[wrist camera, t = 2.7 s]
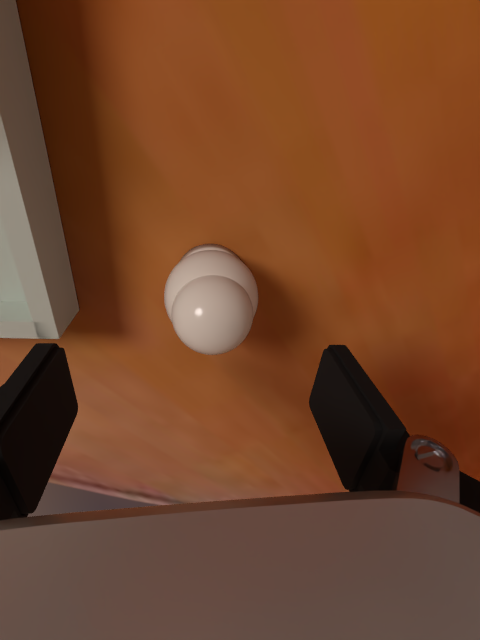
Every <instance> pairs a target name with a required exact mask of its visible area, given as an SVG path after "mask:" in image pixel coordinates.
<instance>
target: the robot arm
mask: <svg viewBox="0 0 480 640" xmlns="http://www.w3.org/2000/svg"><path fill="white" fill-rule="evenodd" d="M309 405H310V409H311V411H312V414H313V416H314V418H315V421H316V423H317V425H318V428H319V430H320V432H321V435H322V437H323V439H324V442H325V444H326V446H327V449H328V451H329V454H330V456H331V458H332V461H333V463H334V465H335V468H336V470H337V472H338V475H339V477H340V479H341V482H342V484H343V486H344V488H345V489H347V490H348V489H349V491H350V492H340V493H323V494H309V495H295V496H281V497H267V498H253V499H240V500H226V501H213V502H200V503H187V504H174V505H161V506H150V507H138V508H124V509H112V510H101V511H87V512H75V513H65V514H54V515H44V516H34V517H27V516H28V514H29V513H33V512H34V511H35V510H36V508H37V506H38V503H39V501H40V499H41V496H42V494H43V492H44V489H45V487H46V485H47V483H48V480H49V478H50V476H51V473H52V471H53V469H54V466H55V464H56V462H57V459H58V457H59V455H60V452H61V450H62V448H63V445H64V443H65V441H66V438H67V436H68V434H69V431H70V429H71V427H72V424H73V422H74V420H75V418H76V415H77V411H78V403H77V399H76V395H75V391H74V387H73V383H72V379H71V375H70V371H69V367H68V362H67V358H66V354H65V351H64V349H63V348H59V346H58V345H57V344H55V343H38V344H36V345H35V346H34V347H33V348H32V349H31V351H30V352H29V353H28V354H27V356H26V357H25V358H24V360H23V361H22V362H21V363H20V365H19V366H18V367H17V369H16V370H15V371H14V372H13V374H12V375H11V376H10V378H9V379H8V380H7V381H6V383H5V384H3V385H2V386H1V387H0V640H480V482H479V481H477V480H476V479H474V478H472V477H470V476H468V475H466V474H464V473H463V472H461V471H459V465H458V461H457V460H456V458H455V456H454V455H453V454H452V452H451V451H450V450H449V449H448V448H447V447H445V446H444V445H443V444H441V443H440V442H438V441H436V440H435V439H433V438H430V437H427V436H424V435H412V436H410V435H409V434H408V432H407V431H406V428H405V426H404V425H403V424H402V422H401V421H400V419H399V418H398V417H397V415H396V414H395V413H394V411H393V410H392V408H391V407H390V406H389V404H388V403H387V402H386V400H385V399H384V397H383V396H382V395H381V393H380V392H379V391H378V389H377V388H376V386H375V385H374V384H373V382H372V381H371V380H370V378H369V377H368V375H367V374H366V373H365V371H364V370H363V369H362V367H361V366H360V364H359V363H358V362H357V360H356V359H355V358H354V356H353V355H352V353H351V352H350V351H349V349H348V348H347V347H346V346H345V345H329V347H328V348H327V349H324V351H323V354H322V357H321V361H320V364H319V368H318V371H317V375H316V378H315V382H314V385H313V388H312V392H311V395H310V399H309Z"/></svg>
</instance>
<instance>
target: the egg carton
mask: <svg viewBox="0 0 480 640" xmlns="http://www.w3.org/2000/svg"><path fill="white" fill-rule="evenodd" d="M78 311H79V305H78V300H77V295H76V291H75V286H74V281H73V276H72V271H71V266H70V262H69V257H68V252H67V247H66V242H65V237H64V232H63V228H62V223H61V218H60V213H59V208H58V203H57V198H56V194H55V189H54V184H53V179H52V174H51V169H50V164H49V160H48V155H47V150H46V145H45V140H44V135H43V131H42V126H41V121H40V116H39V111H38V106H37V101H36V97H35V92H34V87H33V82H32V77H31V72H30V67H29V63H28V58H27V53H26V48H25V43H24V38H23V33H22V29H21V24H20V19H19V14H18V9H17V4H16V0H0V338H36V339H59V338H60V337H61V336H62V334H63V333H64V331H65V330H66V328H67V327H68V326H69V324H70V323H71V321H72V320H73V318H74V317H75V315H76V314H77V313H78Z"/></svg>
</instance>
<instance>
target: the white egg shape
mask: <svg viewBox="0 0 480 640" xmlns="http://www.w3.org/2000/svg"><path fill="white" fill-rule="evenodd" d="M164 301H165V307H166V311H167V314H168V316H169V318H170V320H171V322H172V323H173V327H174V329H175V332H176V334H177V335H178V337H179V338H180V340H181V341H182V342H183V343H184V344H185V345H186V346H188V347H189V348H191V349H192V350H194V351H196V352H199V353H202V354H207V355H217V354H223V353H226V352H229V351H231V350H233V349H234V348H236V347H237V346H238V345H240V344H241V343H242V342H243V341H244V339H245V338H246V336H247V335H248V333H249V331H250V329H251V326H252V322H253V318H254V316H255V313H256V310H257V306H258V289H257V284H256V281H255V279H254V277H253V275H252V273H251V271H250V270H249V268H248V267H247V266H246V265H245V264H244V263H243V262H242V261H241V260H240V259H239V258H238V256H237V255H236V254H235V253H234V252H233V251H231V250H230V249H228V248H226V247H224V246H221V245H218V244H203V245H199V246H196V247H194V248H192V249H191V250H189V251H188V252H187V253H186V254H185V255H184V256H183V257H182V258H181V260H180V262H179V263H178V264H177V265H176V266H175V267H174V269H173V270H172V271H171V273H170V275H169V277H168V279H167V282H166V286H165V292H164Z"/></svg>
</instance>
